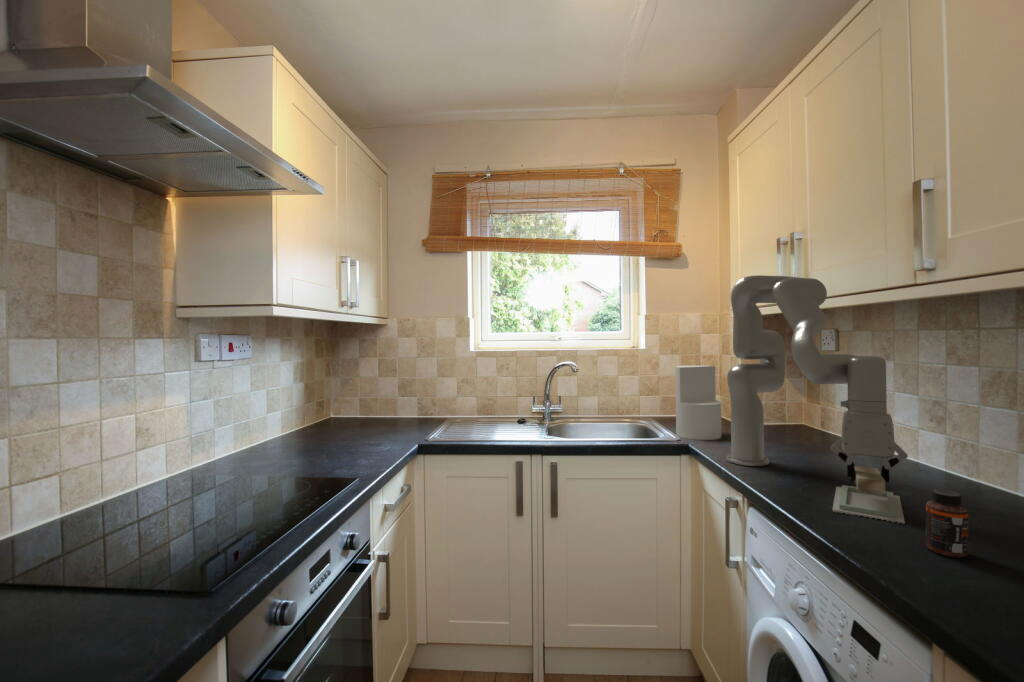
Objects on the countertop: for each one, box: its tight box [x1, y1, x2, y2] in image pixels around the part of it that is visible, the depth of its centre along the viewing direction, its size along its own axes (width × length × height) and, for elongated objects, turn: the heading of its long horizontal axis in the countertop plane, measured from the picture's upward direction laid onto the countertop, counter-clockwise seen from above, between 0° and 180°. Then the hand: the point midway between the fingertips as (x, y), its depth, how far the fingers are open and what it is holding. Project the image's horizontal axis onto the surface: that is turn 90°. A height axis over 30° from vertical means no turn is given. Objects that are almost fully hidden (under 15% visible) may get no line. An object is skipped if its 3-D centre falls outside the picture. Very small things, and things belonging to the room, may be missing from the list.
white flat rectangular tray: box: [832, 484, 906, 525], centre depth 115 cm, size 20×13×2 cm, turn 143°
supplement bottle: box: [925, 488, 969, 559], centre depth 90 cm, size 6×6×11 cm
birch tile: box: [854, 465, 886, 494], centre depth 114 cm, size 5×12×3 cm, turn 149°
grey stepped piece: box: [675, 364, 722, 441], centre depth 194 cm, size 17×17×28 cm
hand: (867, 481), depth 114 cm, fingers closed on birch tile, 5 cm apart
